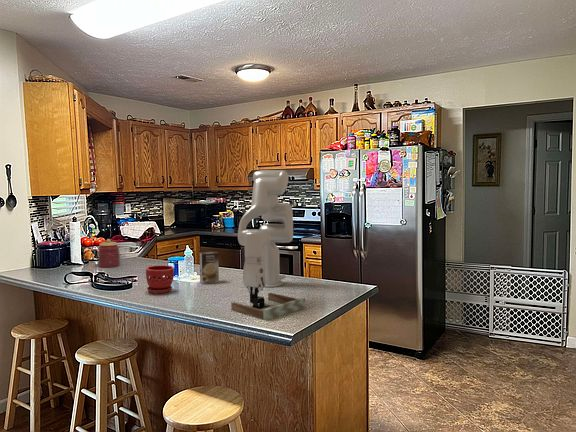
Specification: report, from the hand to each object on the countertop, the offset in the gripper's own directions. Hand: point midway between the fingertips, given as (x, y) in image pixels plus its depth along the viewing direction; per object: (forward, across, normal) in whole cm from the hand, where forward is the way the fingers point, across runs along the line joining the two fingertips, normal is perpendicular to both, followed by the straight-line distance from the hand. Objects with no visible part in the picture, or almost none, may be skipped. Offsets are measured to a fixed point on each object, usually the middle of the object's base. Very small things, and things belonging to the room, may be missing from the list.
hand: (253, 302), depth 186 cm
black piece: (+2, -4, +1) cm, 4 cm away
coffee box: (+1, +50, -14) cm, 52 cm away
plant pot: (+1, +52, +14) cm, 54 cm away
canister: (+1, +137, +1) cm, 137 cm away
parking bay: (+1, -8, 0) cm, 8 cm away
